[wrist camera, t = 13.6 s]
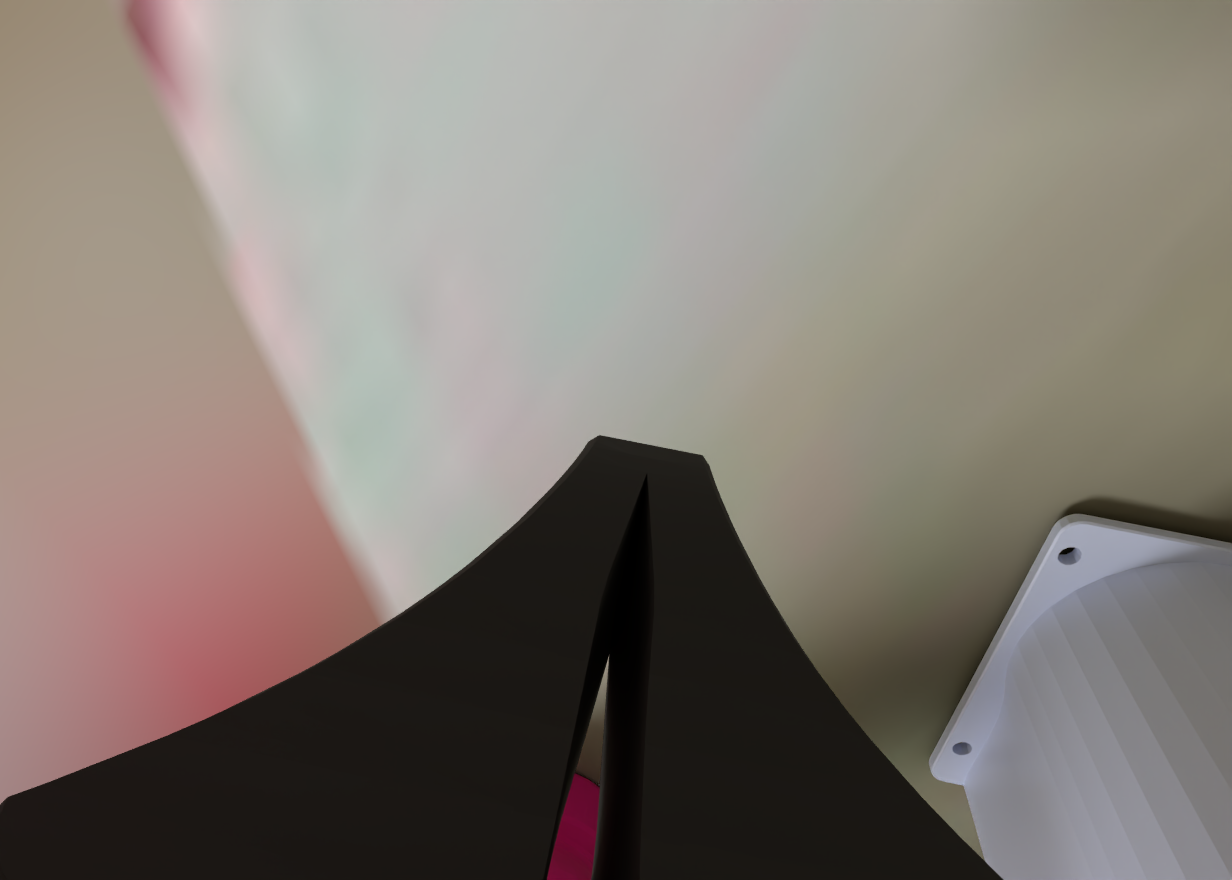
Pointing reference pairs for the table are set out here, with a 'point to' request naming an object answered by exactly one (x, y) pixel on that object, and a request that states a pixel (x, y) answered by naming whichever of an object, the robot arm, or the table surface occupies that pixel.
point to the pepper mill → (576, 833)
